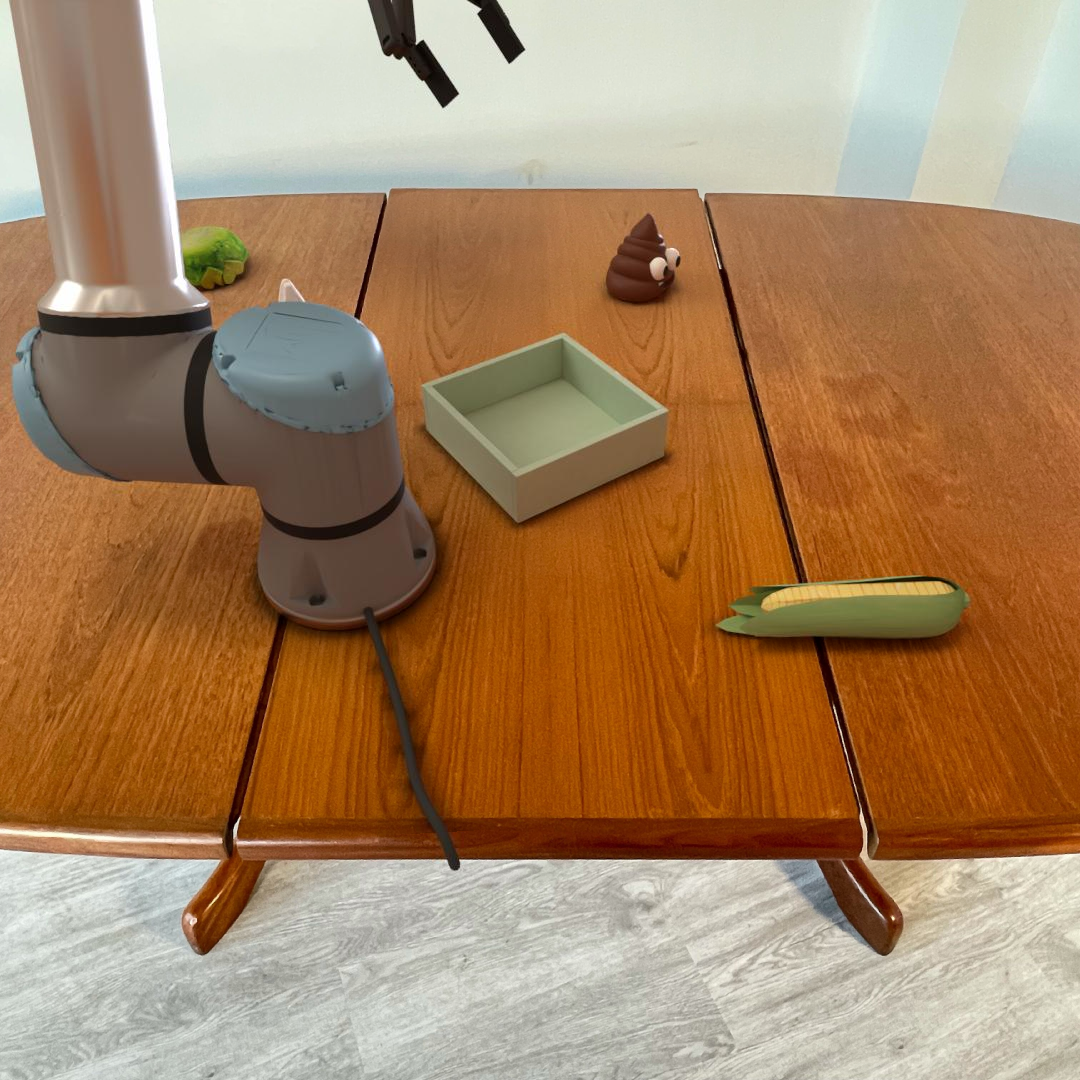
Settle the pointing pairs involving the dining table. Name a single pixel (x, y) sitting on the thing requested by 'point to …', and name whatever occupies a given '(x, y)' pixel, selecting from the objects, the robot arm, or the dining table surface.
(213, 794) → the dining table surface
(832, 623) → the edible corn
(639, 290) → the poop emoji
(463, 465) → the tub
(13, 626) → the dining table surface
